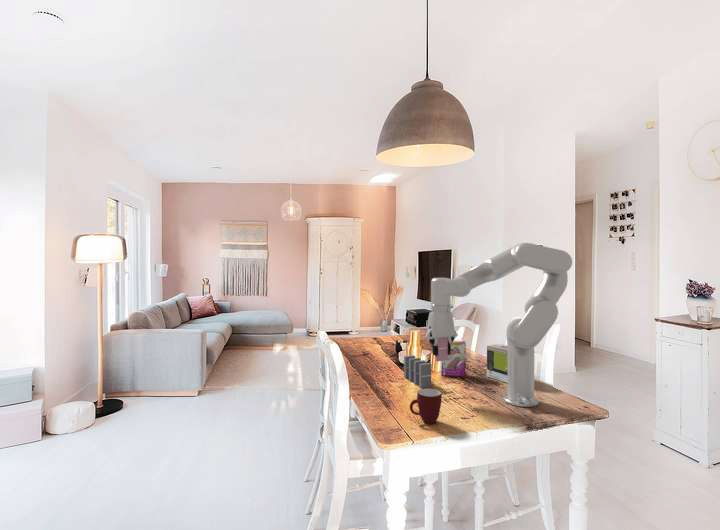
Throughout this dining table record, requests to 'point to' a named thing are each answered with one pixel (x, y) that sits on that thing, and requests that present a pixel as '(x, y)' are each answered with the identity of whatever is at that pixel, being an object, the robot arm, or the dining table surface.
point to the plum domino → (442, 349)
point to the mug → (428, 405)
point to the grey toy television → (497, 362)
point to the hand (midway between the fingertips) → (441, 354)
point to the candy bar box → (455, 360)
